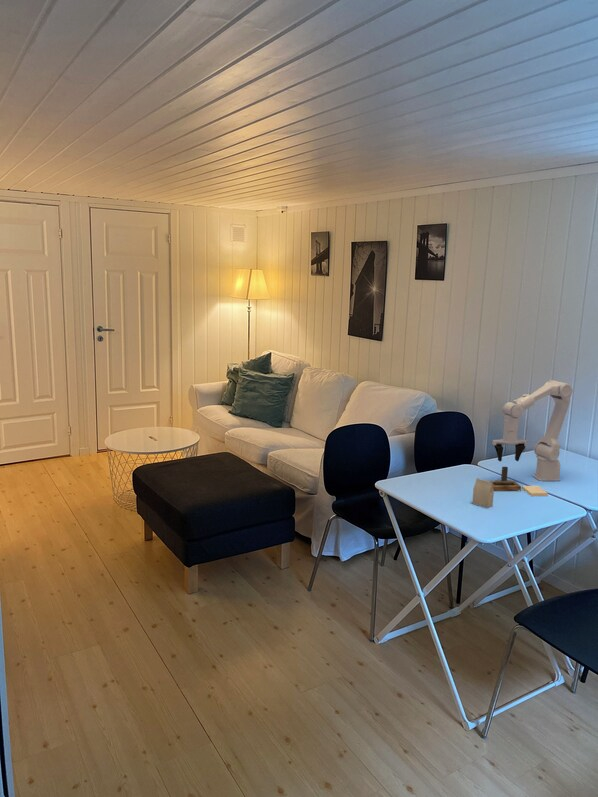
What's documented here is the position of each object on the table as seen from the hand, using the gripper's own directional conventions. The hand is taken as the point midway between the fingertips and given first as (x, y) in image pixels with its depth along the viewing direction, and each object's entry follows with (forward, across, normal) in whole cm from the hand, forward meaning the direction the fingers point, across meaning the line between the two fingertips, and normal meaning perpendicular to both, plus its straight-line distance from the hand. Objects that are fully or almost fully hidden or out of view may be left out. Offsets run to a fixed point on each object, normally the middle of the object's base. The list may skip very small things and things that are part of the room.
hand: (508, 460), depth 268 cm
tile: (+10, -7, +8) cm, 14 cm away
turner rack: (+10, +4, +7) cm, 13 cm away
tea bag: (+10, +21, +26) cm, 35 cm away
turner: (+10, +4, +7) cm, 13 cm away
